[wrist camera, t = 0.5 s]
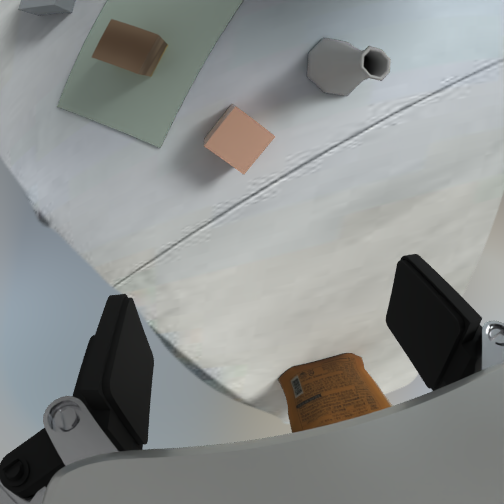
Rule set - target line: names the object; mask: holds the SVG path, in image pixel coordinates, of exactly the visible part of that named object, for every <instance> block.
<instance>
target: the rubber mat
mask: <svg viewBox="0 0 504 504" xmlns="http://www.w3.org/2000/svg"><path fill="white" fill-rule="evenodd" d="M242 2H243V0H107V2H106V4H105V6H104V7H103V9H102V11H101V12H100V14H99V16H98V18H97V20H96V21H95V23H94V25H93V27H92V29H91V31H90V33H89V35H88V37H87V39H86V41H85V43H84V45H83V47H82V49H81V51H80V53H79V55H78V57H77V60H76V62H75V64H74V66H73V69H72V71H71V73H70V75H69V78H68V80H67V83H66V85H65V88H64V90H63V93H62V95H61V98H60V101H59V103H58V106H57V107H59V108H61V109H64V110H67V111H70V112H72V113H75V114H77V115H80V116H83V117H85V118H88V119H90V120H93V121H96V122H98V123H101V124H103V125H106V126H108V127H111V128H113V129H116V130H118V131H121V132H123V133H125V134H128V135H130V136H133V137H135V138H138V139H140V140H142V141H145V142H147V143H149V144H152V145H154V146H156V147H159V148H160V147H161V145H162V143H163V141H164V139H165V137H166V135H167V133H168V131H169V128H170V126H171V124H172V122H173V120H174V118H175V116H176V114H177V112H178V110H179V108H180V106H181V104H182V102H183V101H184V99H185V97H186V95H187V93H188V91H189V89H190V87H191V85H192V84H193V82H194V80H195V78H196V76H197V75H198V73H199V71H200V69H201V67H202V66H203V64H204V62H205V60H206V59H207V57H208V55H209V54H210V52H211V50H212V49H213V47H214V45H215V44H216V42H217V40H218V39H219V37H220V35H221V34H222V32H223V31H224V29H225V27H226V26H227V24H228V23H229V21H230V20H231V18H232V17H233V15H234V13H235V12H236V10H237V9H238V7H239V6H240V4H241V3H242ZM111 19H114V20H117V21H120V22H123V23H126V24H129V25H132V26H135V27H138V28H141V29H144V30H147V31H150V32H152V33H155V34H158V35H159V36H160V37H161V38H162V39H163V40H164V41H165V42H166V43H167V44H168V47H167V48H166V50H165V52H164V54H163V56H162V57H161V59H160V61H159V63H158V65H157V67H156V69H155V70H154V72H153V74H152V76H151V77H150V76H145V75H140V74H136V73H134V72H131V71H128V70H126V69H123V68H120V67H118V66H115V65H112V64H109V63H106V62H103V61H101V60H98V59H95V58H92V55H93V53H94V51H95V49H96V47H97V45H98V43H99V41H100V39H101V37H102V35H103V33H104V31H105V29H106V27H107V26H108V24H109V22H110V20H111Z"/></svg>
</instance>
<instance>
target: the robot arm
mask: <svg viewBox="0 0 504 504" xmlns="http://www.w3.org/2000/svg"><path fill="white" fill-rule="evenodd" d="M481 320H482V318H481V317H480V315H479V314H478V313H477V312H476V311H475V310H474V309H473V308H472V307H471V306H470V305H469V304H468V303H467V302H466V301H465V300H464V299H463V298H462V297H461V296H460V295H459V294H458V293H457V292H456V291H455V290H454V289H453V288H452V287H451V286H450V285H449V284H448V283H447V282H446V281H445V280H444V279H443V278H442V277H441V276H440V275H439V274H438V273H437V272H436V271H435V270H434V269H433V268H432V267H431V266H430V265H429V264H428V263H426V262H425V261H424V260H423V259H422V258H421V257H420V256H419V255H417V254H412V255H406V256H403V257H402V258H401V260H400V261H398V263H397V268H396V273H395V278H394V283H393V288H392V293H391V297H390V302H389V306H388V311H387V315H386V323H387V326H388V327H389V329H390V330H391V332H392V333H393V335H394V336H395V338H396V339H397V341H398V342H399V344H400V345H401V347H402V348H403V350H404V351H405V353H406V354H407V356H408V357H409V359H410V361H411V362H412V364H413V365H414V367H415V368H416V370H417V371H418V373H419V375H420V376H421V378H422V379H423V381H424V382H425V384H426V386H427V387H428V388H431V389H432V390H433V391H432V392H430V393H427V394H425V395H422V396H420V397H417V398H414V399H412V400H409V401H406V402H403V403H400V404H397V405H395V406H391V407H388V408H385V409H382V410H379V411H376V412H373V413H370V414H366V415H363V416H360V417H356V418H353V419H349V420H345V421H342V422H338V423H334V424H330V425H326V426H322V427H317V428H313V429H309V430H304V431H299V432H294V433H289V434H284V435H280V436H274V437H268V438H262V439H255V440H249V441H242V442H234V443H226V444H217V445H206V446H196V447H183V448H167V449H148V450H142V447H143V444H147V441H148V427H149V412H150V398H151V387H152V375H153V367H154V358H153V354H152V351H151V349H150V346H149V343H148V341H147V338H146V335H145V333H144V330H143V327H142V324H141V321H140V318H139V315H138V313H137V310H136V307H135V304H134V301H133V299H132V298H128V297H127V295H126V294H120V295H110V296H109V297H108V300H107V302H106V305H105V308H104V311H103V314H102V316H101V319H100V322H99V325H98V328H97V331H96V334H95V335H93V336H92V337H91V338H90V340H89V343H88V346H87V349H86V353H85V356H84V359H83V363H82V365H81V369H80V372H79V375H78V379H77V383H76V386H75V389H74V393H73V396H65V397H61V398H58V399H56V400H54V401H53V402H52V403H51V404H50V405H49V406H48V407H47V409H46V411H45V413H44V417H43V422H44V426H45V428H44V429H42V430H41V431H40V432H38V433H37V434H35V435H34V436H33V437H31V438H30V439H28V440H27V441H25V442H24V443H23V444H21V445H20V446H19V447H17V448H16V449H14V450H13V451H12V452H10V453H9V454H7V455H6V456H5V457H4V458H3V460H2V461H1V463H0V504H504V323H502V322H499V321H489V322H487V323H485V324H484V326H483V327H482V326H480V322H481Z"/></svg>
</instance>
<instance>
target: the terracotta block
mask: <svg viewBox="0 0 504 504" xmlns="http://www.w3.org/2000/svg"><path fill="white" fill-rule="evenodd" d="M274 138H275V136H274V135H273V134H271V133H270V132H269V131H268V130H266V129H265V128H264V127H263V126H261V125H260V124H259V123H257V122H256V121H255V120H253V119H252V118H251V117H249V116H248V115H247V114H246V113H244V112H243V111H241V110H240V109H239V108H237V107H236V106H235V105H233V104H231V106H230V107H229V108H228V109H227V111H226V112H225V113H224V114H223V116H222V117H221V118H220V119H219V121H218V122H217V123H216V124H215V126H214V127H213V128H212V129H211V131H210V132H209V133H208V135H207V136H206V137H205V139H204V147H206V148H207V149H209V150H210V151H211V152H213V153H214V154H216V155H217V156H219V157H220V158H221V159H223V160H224V161H226V162H227V163H228V164H230V165H231V166H233V167H234V168H235V169H237V170H238V171H240V172H241V173H242V174H245V173H246V172H247V170H248V169H249V168H250V167H251V165H252V164H253V163H254V162H255V161H256V159H257V158H258V157H259V156H260V154H261V153H262V152H263V151H264V150H265V148H266V147H267V146H268V145H269V144H270V142H271V141H272V140H273V139H274Z"/></svg>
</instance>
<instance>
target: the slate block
mask: <svg viewBox="0 0 504 504" xmlns="http://www.w3.org/2000/svg"><path fill="white" fill-rule="evenodd" d="M75 1H76V0H21V3H20V6H19V9H18V10H22V11H25V12H29V13H32V14H35V15H46V14H57V13H72V10H73V7H74V4H75Z"/></svg>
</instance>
